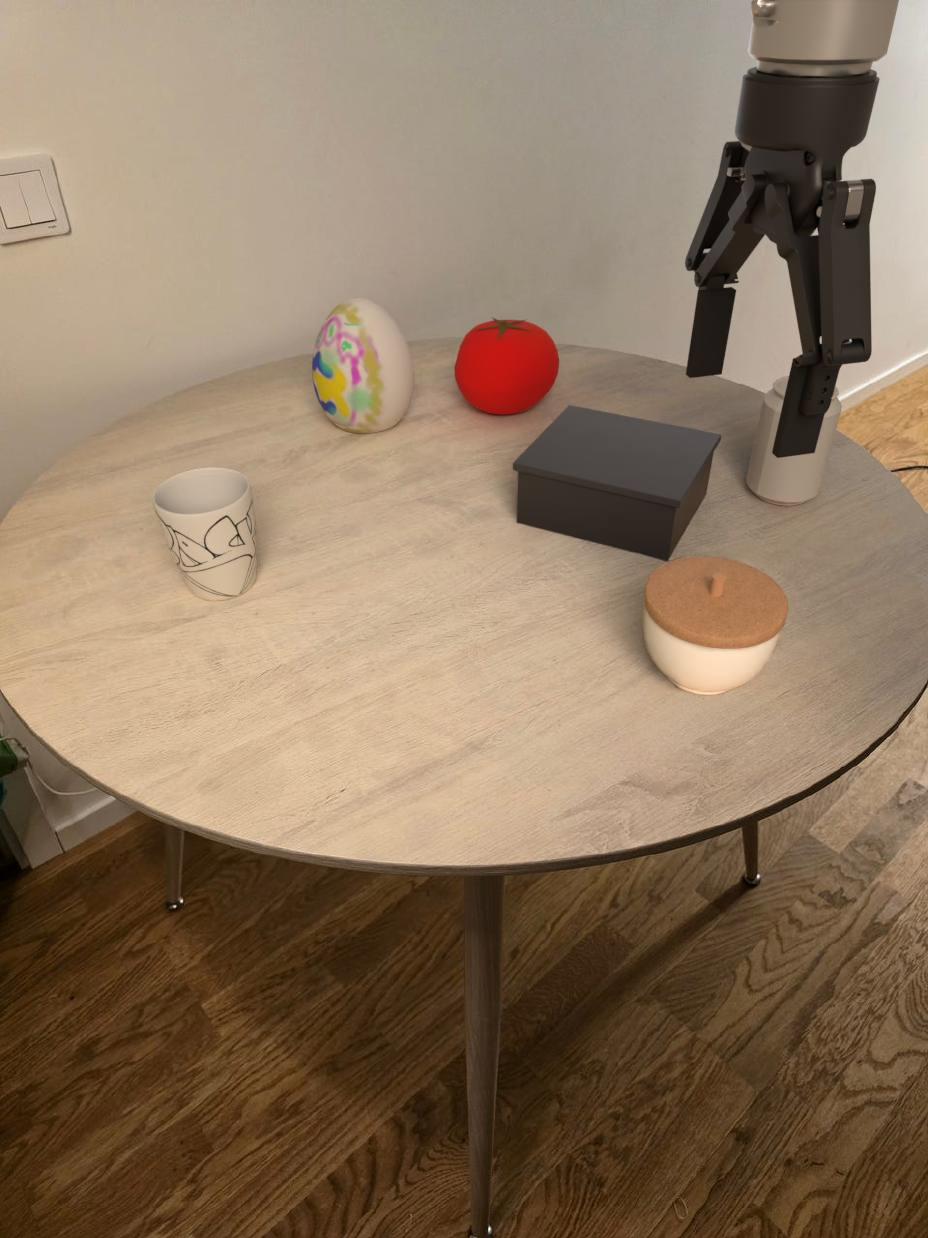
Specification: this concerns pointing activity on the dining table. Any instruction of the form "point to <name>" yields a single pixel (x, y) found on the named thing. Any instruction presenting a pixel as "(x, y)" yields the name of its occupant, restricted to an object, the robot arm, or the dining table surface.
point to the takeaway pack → (615, 480)
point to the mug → (210, 530)
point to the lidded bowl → (711, 622)
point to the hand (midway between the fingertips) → (744, 411)
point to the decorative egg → (362, 368)
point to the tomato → (506, 366)
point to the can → (792, 474)
